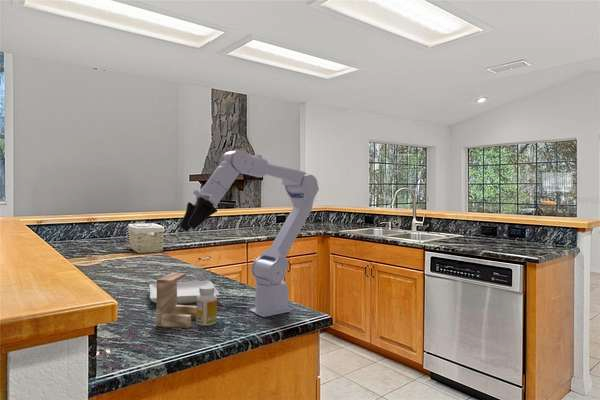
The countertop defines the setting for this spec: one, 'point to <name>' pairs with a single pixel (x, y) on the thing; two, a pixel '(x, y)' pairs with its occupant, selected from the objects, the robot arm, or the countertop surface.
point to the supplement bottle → (206, 306)
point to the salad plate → (184, 291)
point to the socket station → (172, 304)
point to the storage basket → (146, 237)
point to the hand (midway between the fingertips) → (186, 228)
